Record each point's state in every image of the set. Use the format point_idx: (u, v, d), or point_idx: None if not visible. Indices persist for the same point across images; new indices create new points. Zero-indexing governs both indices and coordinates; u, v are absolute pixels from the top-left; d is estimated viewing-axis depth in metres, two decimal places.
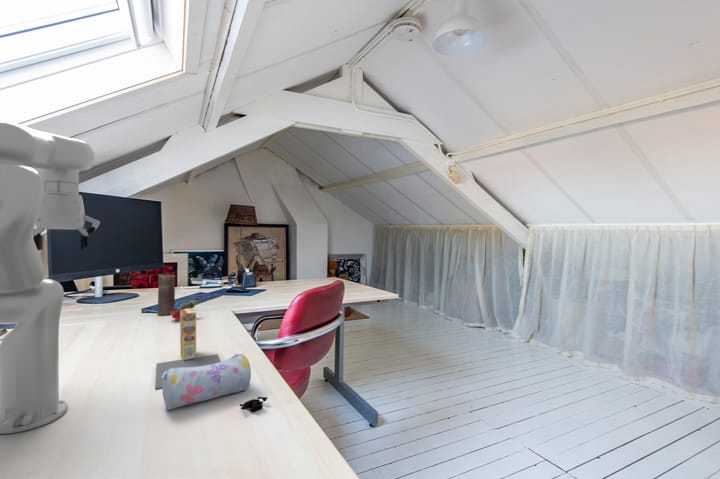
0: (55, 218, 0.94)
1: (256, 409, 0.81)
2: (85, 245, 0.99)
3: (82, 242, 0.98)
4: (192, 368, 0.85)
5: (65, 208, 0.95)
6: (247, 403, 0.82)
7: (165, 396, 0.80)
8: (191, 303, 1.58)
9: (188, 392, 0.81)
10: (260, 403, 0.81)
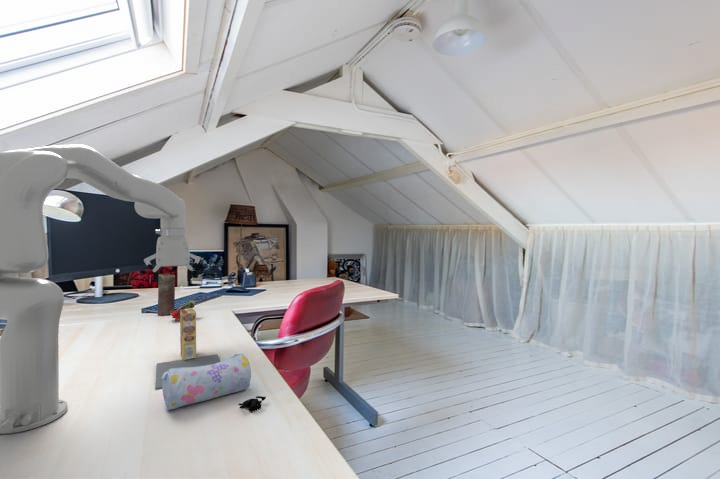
0: (170, 257, 1.16)
1: (255, 408, 0.81)
2: (190, 278, 1.21)
3: (188, 275, 1.20)
4: (192, 368, 0.85)
5: (177, 249, 1.17)
6: (246, 402, 0.82)
7: (166, 396, 0.80)
8: (191, 303, 1.58)
9: (189, 392, 0.81)
10: (259, 402, 0.82)
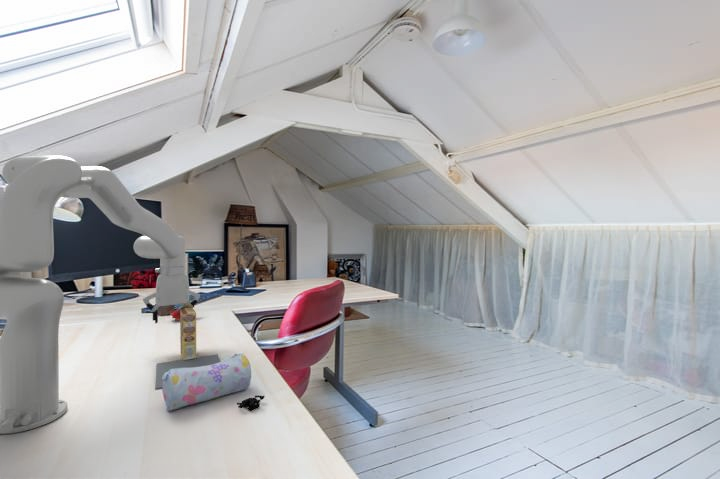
0: (170, 296, 1.14)
1: (253, 407, 0.82)
2: None
3: None
4: (193, 368, 0.84)
5: (177, 288, 1.15)
6: (244, 401, 0.83)
7: (166, 397, 0.79)
8: None
9: (190, 392, 0.81)
10: (257, 401, 0.82)
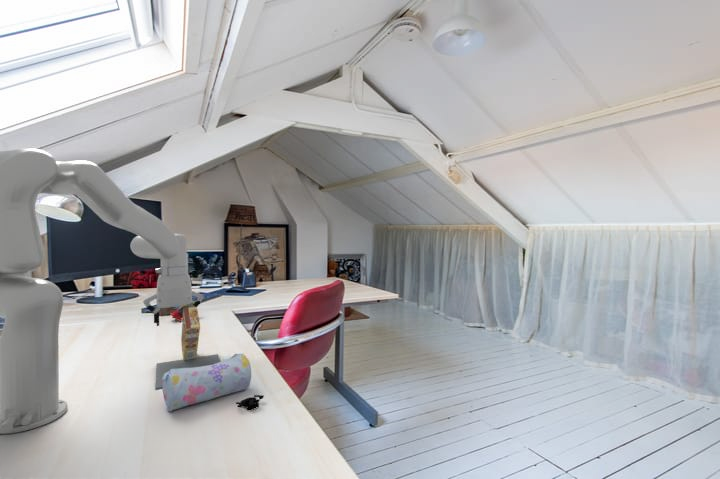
0: (171, 298, 1.09)
1: (252, 407, 0.82)
2: None
3: None
4: (193, 368, 0.84)
5: (178, 288, 1.10)
6: (244, 401, 0.83)
7: (167, 397, 0.79)
8: None
9: (190, 392, 0.81)
10: (256, 401, 0.82)
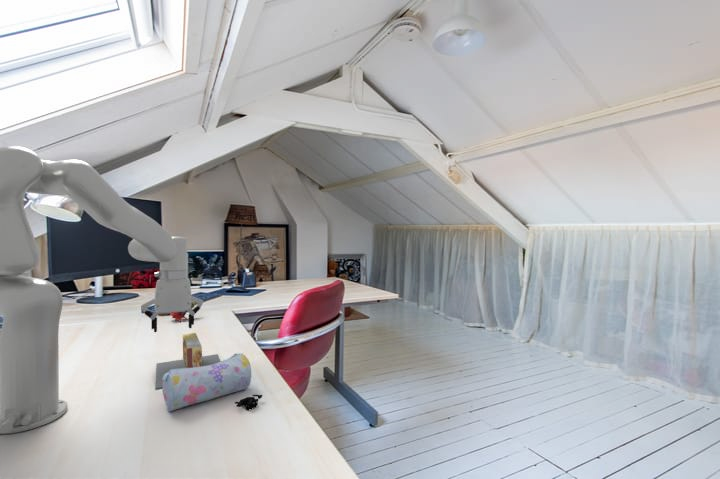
0: (170, 303, 1.05)
1: (251, 406, 0.82)
2: (192, 323, 1.10)
3: (190, 321, 1.09)
4: (193, 368, 0.84)
5: (178, 293, 1.06)
6: (242, 401, 0.83)
7: (167, 397, 0.79)
8: None
9: (191, 392, 0.81)
10: (255, 401, 0.83)
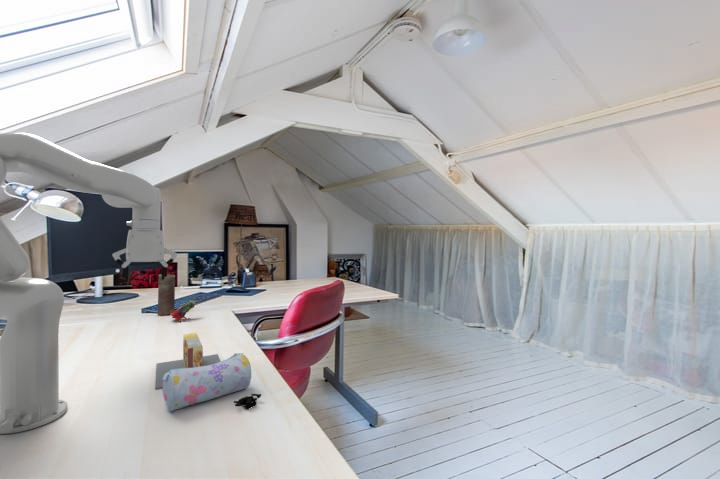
0: (142, 252, 1.04)
1: (250, 406, 0.82)
2: (165, 275, 1.09)
3: (163, 273, 1.08)
4: (193, 368, 0.84)
5: (149, 243, 1.05)
6: (241, 400, 0.83)
7: (168, 397, 0.79)
8: (191, 303, 1.58)
9: (191, 392, 0.81)
10: (254, 400, 0.83)
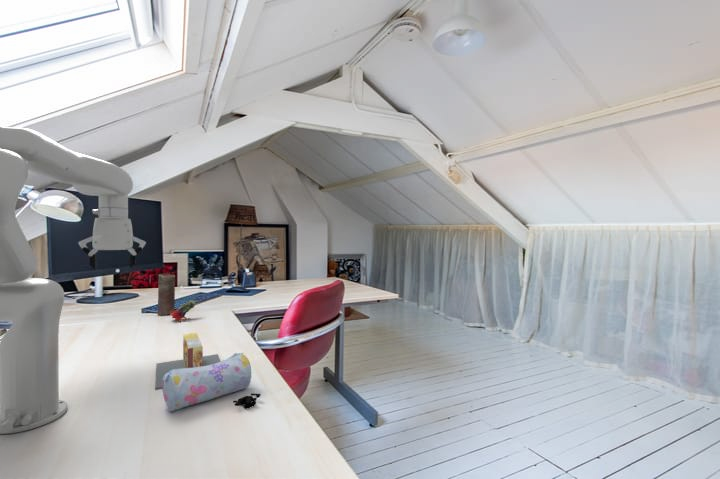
0: (109, 240, 1.05)
1: (249, 405, 0.83)
2: (133, 263, 1.10)
3: (131, 261, 1.09)
4: (194, 369, 0.84)
5: (117, 231, 1.05)
6: (241, 399, 0.84)
7: (168, 398, 0.79)
8: (191, 303, 1.58)
9: (192, 392, 0.81)
10: (253, 399, 0.83)
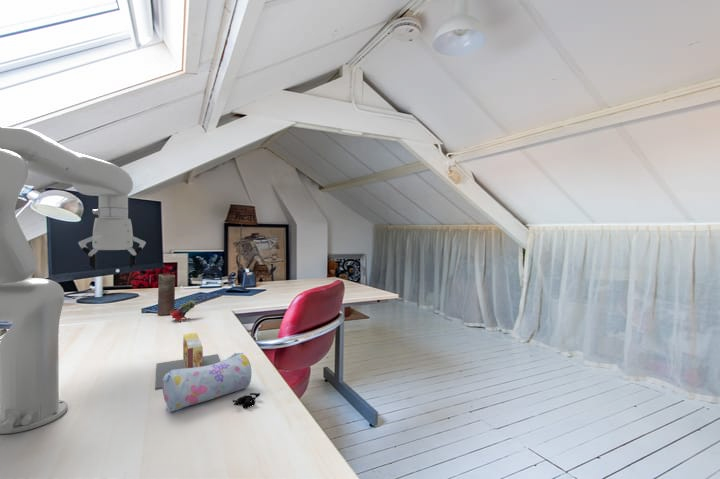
0: (109, 240, 1.05)
1: (249, 405, 0.83)
2: (133, 263, 1.10)
3: (131, 261, 1.09)
4: (194, 369, 0.84)
5: (117, 231, 1.05)
6: (240, 399, 0.84)
7: (169, 398, 0.79)
8: (191, 303, 1.58)
9: (192, 392, 0.80)
10: (253, 399, 0.83)
